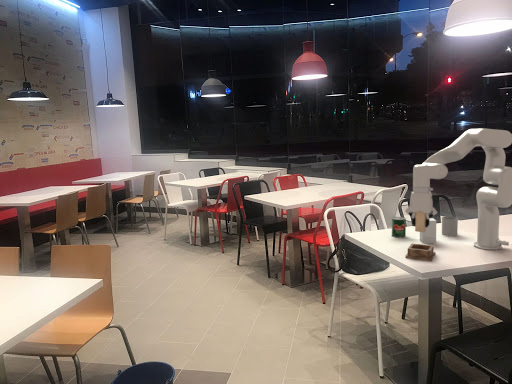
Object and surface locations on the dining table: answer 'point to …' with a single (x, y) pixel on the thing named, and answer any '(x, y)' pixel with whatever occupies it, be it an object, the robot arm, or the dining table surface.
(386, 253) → the dining table surface
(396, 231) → the canned tomato
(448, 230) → the cup
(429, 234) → the supplement box
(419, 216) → the tan rectangular block
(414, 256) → the brown wooden box
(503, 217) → the dining table surface
